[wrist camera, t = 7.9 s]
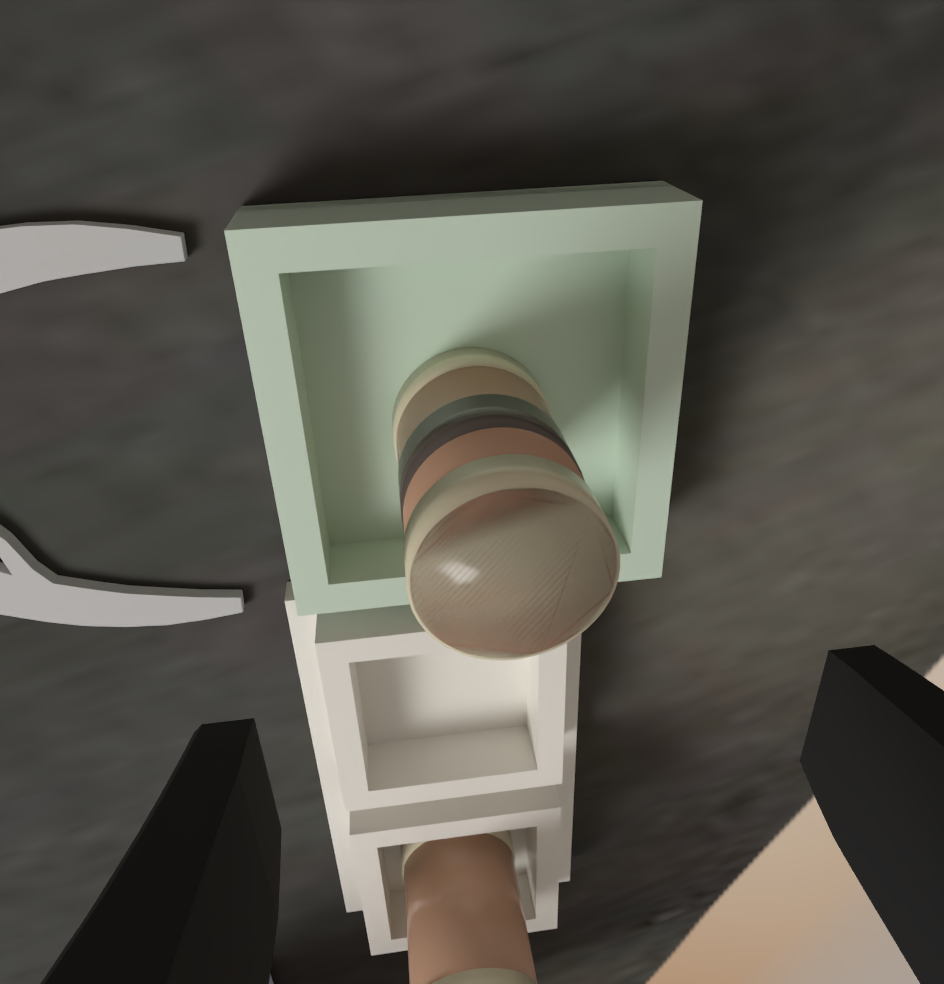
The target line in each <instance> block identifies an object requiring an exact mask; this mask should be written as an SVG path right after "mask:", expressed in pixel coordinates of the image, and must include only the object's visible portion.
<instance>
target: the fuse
mask: <svg viewBox="0 0 944 984" xmlns="http://www.w3.org/2000/svg"><path fill="white" fill-rule="evenodd" d="M400 846H401V865H402V877H403V880H404V890H405V908H406V926H407V944H408V962H409V980H410V984H537V979H536V974H535V969H534V963H533V958H532V953H531V948H530V942H529V937H528V932H527V926H526V921H525V916H524V911H523V905H522V900H521V895H520V889H519V884H518V879H517V874H516V868H515V854H514V849H513V844H512V839H511V833H510V830H505V831H498V832H490V833H483V834H476V835H468V836H461V837H453V838H446V839H438V840H431V841H424V842H416V843H409V844H401V845H400Z"/></svg>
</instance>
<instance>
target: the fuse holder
mask: <svg viewBox="0 0 944 984" xmlns="http://www.w3.org/2000/svg"><path fill="white" fill-rule="evenodd" d="M285 606H286V611H287V616H288V621H289V626H290V631H291V636H292V641H293V646H294V651H295V656H296V661H297V666H298V671H299V676H300V681H301V686H302V691H303V696H304V701H305V706H306V711H307V716H308V721H309V726H310V731H311V736H312V741H313V746H314V751H315V756H316V761H317V766H318V771H319V776H320V781H321V786H322V791H323V796H324V801H325V806H326V811H327V816H328V821H329V826H330V831H331V836H332V841H333V846H334V851H335V856H336V861H337V866H338V871H339V876H340V881H341V886H342V891H343V896H344V901H345V907H346V912H354V911H361V910H363V913H364V919H365V924H366V930H367V935H368V941H369V946H370V952H371V956H372V955H379V954H386V953H393V952H399V951H406V950H408V944H407V926H406V908H405V890H404V880H403V877H402V865H401V846H400V845H401V844H409V843H416V842H424V841H431V840H438V839H446V838H453V837H461V836H468V835H476V834H483V833H490V832H498V831H505V830H510V833H511V839H512V844H513V849H514V854H515V868H516V874H517V879H518V884H519V889H520V895H521V900H522V905H523V911H524V916H525V921H526V926H527V932H528V933H529V932H536V931H542V930H549V929H556V928H557V917H558V889H559V882H566V881H570V866H571V845H572V823H573V802H574V781H575V760H576V739H577V718H578V696H579V675H580V654H581V634H580V635H578V636H577V637H576V638H574V639H572V640H571V641H569V642H567V643H566V644H564V645H562V646H560V647H558V648H556V649H554V650H551V651H548V652H546V653H543V654H540V655H536V656H532V657H529V658H523V659H516V660H503V661H501V660H486V659H479V658H474V657H470V656H466V655H463V654H460V653H458V652H455V651H453V650H451V649H449V648H447V647H445V646H443V645H442V644H440V643H439V642H438V641H436V640H435V639H434V638H432V637H431V636H430V635H429V634H428V633H427V632H426V631H425V630H424V629H423V627H422V626H421V625H420V623H419V622H418V621H417V619H416V617H415V615H414V613H413V612H412V609H411V606H410V604H408V605H398V606H389V607H380V608H370V609H361V610H352V611H342V612H333V613H324V614H314V615H305V616H298V615H297V609H296V604H295V599H294V594H293V588H292V583H291V581H290V582H287V586H286V594H285Z"/></svg>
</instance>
